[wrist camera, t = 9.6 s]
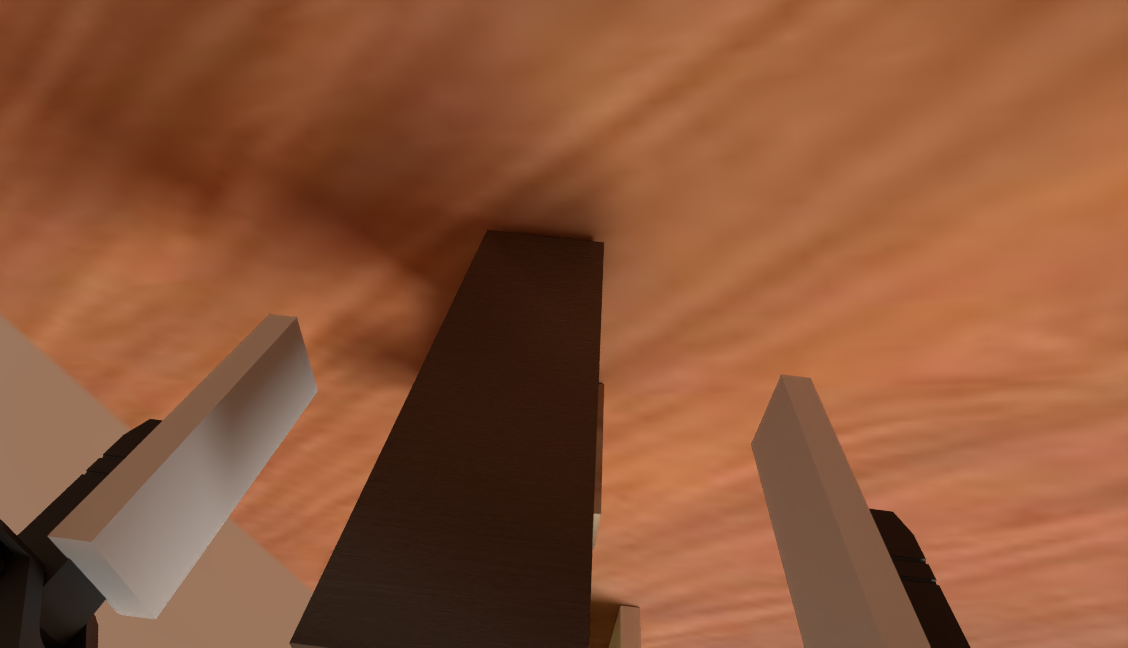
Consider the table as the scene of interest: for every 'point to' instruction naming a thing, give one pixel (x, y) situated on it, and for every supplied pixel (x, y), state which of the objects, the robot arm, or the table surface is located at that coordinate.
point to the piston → (483, 471)
